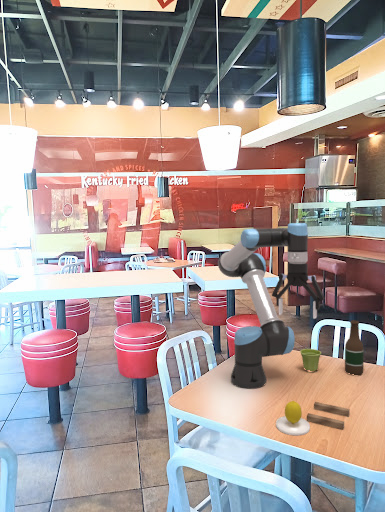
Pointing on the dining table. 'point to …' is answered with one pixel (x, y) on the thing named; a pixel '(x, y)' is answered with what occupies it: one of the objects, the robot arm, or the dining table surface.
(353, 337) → the beer bottle
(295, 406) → the lemon
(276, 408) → the dining table surface
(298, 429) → the saucer
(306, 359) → the plant pot
